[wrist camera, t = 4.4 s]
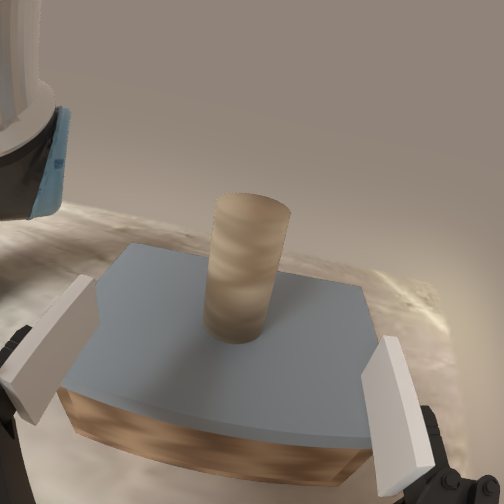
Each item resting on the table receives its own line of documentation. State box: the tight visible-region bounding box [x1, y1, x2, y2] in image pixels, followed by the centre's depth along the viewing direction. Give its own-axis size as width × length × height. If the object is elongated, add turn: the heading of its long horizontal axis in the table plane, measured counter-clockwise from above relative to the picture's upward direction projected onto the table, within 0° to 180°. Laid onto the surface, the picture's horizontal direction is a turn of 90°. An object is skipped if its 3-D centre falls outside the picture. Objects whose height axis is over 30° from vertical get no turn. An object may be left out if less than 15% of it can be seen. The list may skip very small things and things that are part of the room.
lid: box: [60, 193, 379, 449], centre depth 21 cm, size 23×17×10 cm
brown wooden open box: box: [56, 386, 373, 486], centre depth 26 cm, size 22×16×8 cm
